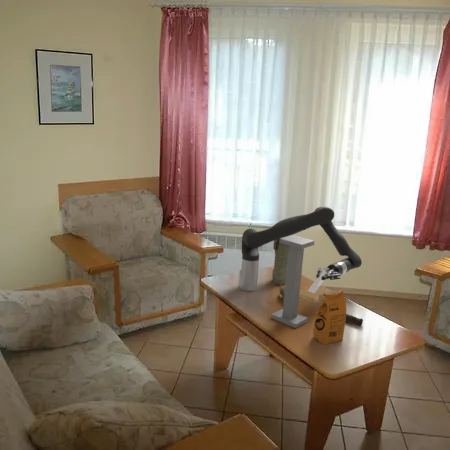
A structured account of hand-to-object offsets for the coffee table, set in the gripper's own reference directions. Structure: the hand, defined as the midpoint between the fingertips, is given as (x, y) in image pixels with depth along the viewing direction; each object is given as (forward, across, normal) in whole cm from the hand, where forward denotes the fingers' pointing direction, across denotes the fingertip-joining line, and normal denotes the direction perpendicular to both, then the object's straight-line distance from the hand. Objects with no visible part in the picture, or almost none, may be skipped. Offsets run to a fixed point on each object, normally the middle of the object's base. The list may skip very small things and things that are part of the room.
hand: (319, 277), depth 234 cm
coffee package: (+26, +22, +16) cm, 38 cm away
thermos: (-12, -32, +16) cm, 38 cm away
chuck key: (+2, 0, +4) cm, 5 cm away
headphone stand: (+24, 0, +15) cm, 29 cm away
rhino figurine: (+6, -16, +16) cm, 23 cm away
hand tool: (+5, +17, +16) cm, 24 cm away
